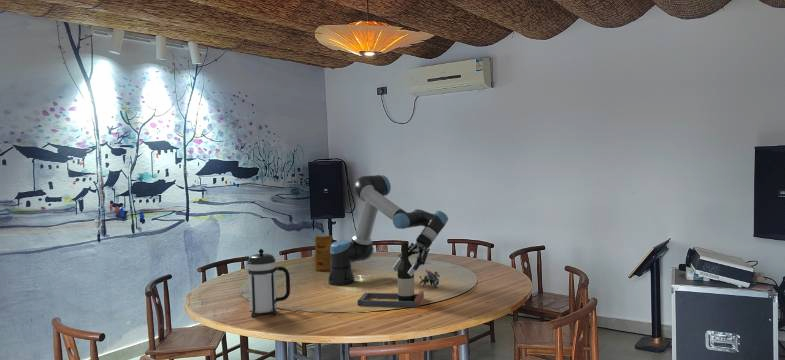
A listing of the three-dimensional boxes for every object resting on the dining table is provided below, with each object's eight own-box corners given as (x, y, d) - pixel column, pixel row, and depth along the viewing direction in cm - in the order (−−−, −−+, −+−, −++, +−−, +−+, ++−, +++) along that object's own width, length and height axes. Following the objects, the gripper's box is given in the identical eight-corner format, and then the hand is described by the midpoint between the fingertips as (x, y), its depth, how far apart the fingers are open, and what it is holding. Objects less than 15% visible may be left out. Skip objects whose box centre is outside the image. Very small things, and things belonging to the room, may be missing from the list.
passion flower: (436, 297, 286) (440, 283, 278) (417, 294, 286) (420, 279, 279) (438, 282, 294) (441, 267, 287) (418, 278, 295) (421, 264, 288)
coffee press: (264, 319, 236) (262, 252, 234) (239, 315, 244) (237, 250, 243) (291, 310, 250) (289, 246, 249) (267, 305, 259) (265, 244, 258)
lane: (357, 305, 255) (357, 297, 254) (365, 297, 269) (365, 289, 269) (419, 307, 249) (419, 298, 249) (423, 298, 264) (423, 290, 263)
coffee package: (315, 268, 347) (314, 234, 346) (334, 267, 347) (333, 234, 346) (313, 271, 337) (312, 237, 336) (332, 270, 337) (331, 236, 336)
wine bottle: (417, 300, 260) (415, 240, 259) (412, 305, 252) (410, 242, 251) (400, 299, 263) (399, 239, 262) (395, 304, 255) (393, 242, 254)
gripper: (446, 246, 254) (421, 281, 247) (416, 240, 275) (392, 272, 268) (436, 236, 251) (411, 271, 244) (407, 230, 272) (383, 263, 265)
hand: (401, 272), depth 256 cm, fingers open, 13 cm apart
